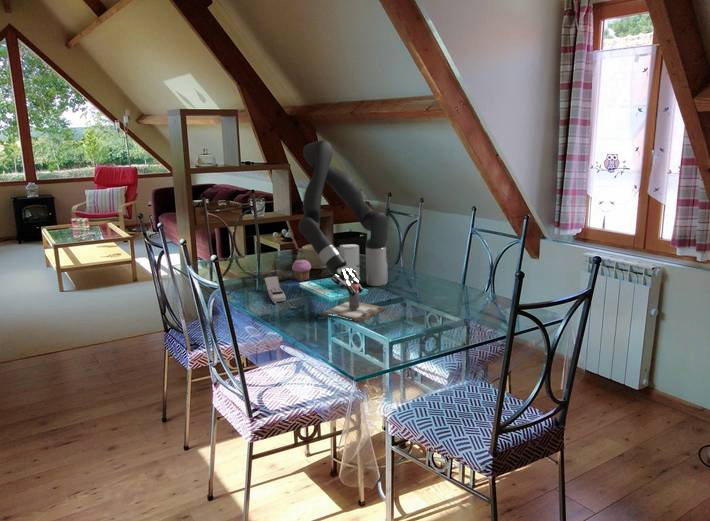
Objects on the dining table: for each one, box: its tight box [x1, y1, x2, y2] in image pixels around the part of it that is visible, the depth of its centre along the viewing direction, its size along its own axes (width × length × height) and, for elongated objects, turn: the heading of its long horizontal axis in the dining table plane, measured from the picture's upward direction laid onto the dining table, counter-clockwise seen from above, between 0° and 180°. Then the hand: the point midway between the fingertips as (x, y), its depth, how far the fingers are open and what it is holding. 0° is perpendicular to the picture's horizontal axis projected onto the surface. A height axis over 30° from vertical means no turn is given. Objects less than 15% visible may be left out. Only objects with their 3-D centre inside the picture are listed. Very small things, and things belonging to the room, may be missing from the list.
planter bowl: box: [301, 243, 335, 270], centre depth 304 cm, size 16×16×11 cm
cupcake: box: [291, 259, 312, 282], centre depth 279 cm, size 9×9×10 cm
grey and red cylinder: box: [348, 283, 360, 309], centre depth 230 cm, size 4×4×9 cm
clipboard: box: [321, 300, 387, 323], centre depth 231 cm, size 18×18×2 cm
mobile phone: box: [264, 276, 287, 305], centre depth 255 cm, size 6×6×25 cm
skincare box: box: [339, 243, 360, 276], centre depth 285 cm, size 8×6×15 cm
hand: (357, 293), depth 228 cm, fingers closed on grey and red cylinder, 4 cm apart
